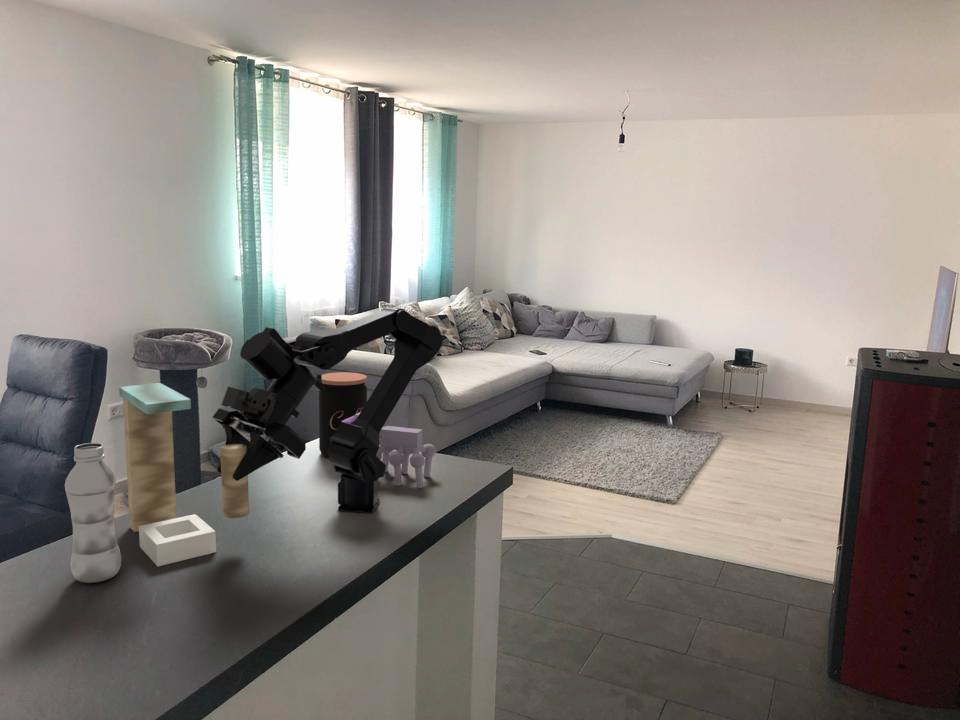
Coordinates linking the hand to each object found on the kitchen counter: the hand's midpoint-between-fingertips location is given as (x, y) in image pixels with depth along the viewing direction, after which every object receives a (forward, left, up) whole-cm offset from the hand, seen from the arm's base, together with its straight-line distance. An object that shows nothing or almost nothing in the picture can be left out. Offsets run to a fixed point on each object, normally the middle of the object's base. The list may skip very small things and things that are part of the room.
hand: (227, 476), depth 123 cm
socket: (+8, +1, -12) cm, 15 cm away
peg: (-1, -1, -7) cm, 7 cm away
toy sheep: (-16, -40, -13) cm, 45 cm away
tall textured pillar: (+13, -3, -12) cm, 18 cm away
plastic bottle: (+15, +13, -12) cm, 23 cm away
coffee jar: (-3, -54, -13) cm, 56 cm away
